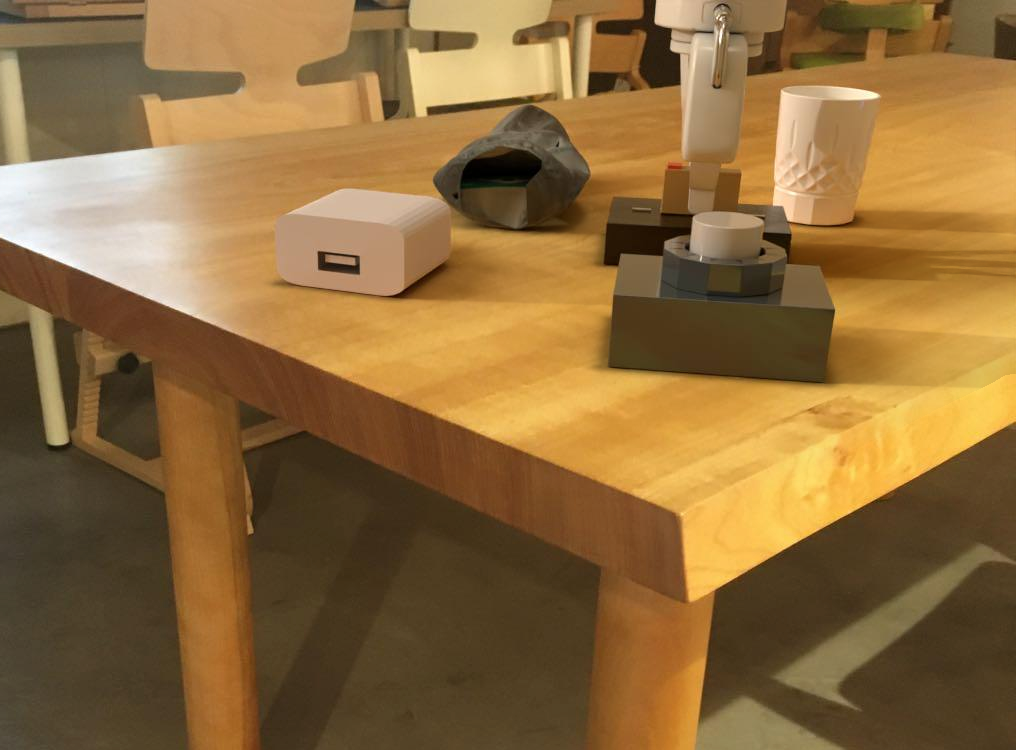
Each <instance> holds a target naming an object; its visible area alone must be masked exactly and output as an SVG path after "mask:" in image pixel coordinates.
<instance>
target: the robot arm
mask: <svg viewBox="0 0 1016 750" xmlns="http://www.w3.org/2000/svg"><path fill="white" fill-rule="evenodd" d="M787 4H788V0H655V11H654V12H655V13H654V25H656V26H659V27H661V28H668V29H671V34H670V35H671V39H670V45H669V49H670V51H671V52H673V53H675V54H679V55H680V57H679V58H680V100H681V101H680V103H681V157H682V159H683V160H684V161H685V162H688V163H689V167H690V189H689V199H688V210H689V212H691V213H692V214H700V213H705V212H712V211H713V208H714V199H715V190H716V186H717V182H718V177H719V173H720V169H721V168H722V165H725V164H726V165H730V164H733V163H734V162H735V161H736V159H737V157H738V153H739V148H740V143H741V133H742V132H741V131H742V123H743V115H744V114H743V113H744V105H745V96H746V86H747V85H746V84H747V76H748V63H749V58H753V57H754V58H755V57H758V56H761V55H762V53H763V46H764V43H763V42H764V39H765V33H772V32H773V33H774V32H779V31H782V30H783V29H784V26H785V18H786V13H787V12H786V10H787V6H788V5H787Z"/></svg>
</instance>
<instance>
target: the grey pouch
mask: <svg viewBox="0 0 1016 750" xmlns="http://www.w3.org/2000/svg"><path fill="white" fill-rule="evenodd" d="M591 175H592V174H591V169H590V167H589V163H588V161H587V160H586V158H585V157H584V156H582V154H581V153H580V152H579V151H578V149H577V148H576V147H575V145H574V144H573V143H572V142H571V139H570V136H569V133H568V132H567V130H566V128H565V127H564V125H563V124H562V122H561V121H559V119H558V118H557V117H556V116H554V114H551V113H550V112H548V111H547V110H545V109H543V108H541V107H539V106H537V105H535V104H531V103H530V104H523V105H520V106H518V107H516V108H515V109H513V110H511V111H510V112H509V113H507V114H506V115H505V116H504V117H503V118H502V119H501V120H500V121H499V122H498V123H497V124H495V126H494V127H493V128H492V129H491V131H489V133H488V134H486V135H484V136H481V137H478V138H477V139H475V140H473V141H472V142H469V143H468V144H467V145H466V146H464V147H463V148H462V149H461V150H460V151H459V152H458V153H457V154H456V155H455V156H454V157H452V158H451V159H450V160H449V161H447V163H446V164H444V165H443V166H442V167H440V168H439V169H438V170H437V171H436V172H435V173H434V175H433V177H432V183H433V185H434V188H435V189H436V190H437V191H438V193H439V195H440V196H441V197H442V198H443V199H444V200H445V202H446V203H447V204H448V205H449V206H450V207H452V208H453V209H454V210H455V211H456V212H458V213H459V214H460V215H461V216H463V217H465V218H467V219H469V220H471V221H473V222H475V223H477V224H480V225H481V226H485V227H489V228H499V229H500V228H501V229H511V230H521V229H525V228H528V227H531V226H536V225H541V224H542V223H545V222H547V221H549V220H552V219H553V218H555V217H557V216H559V215H560V214H562V213H563V212H565V211H566V210H567V209H569V208H570V206H572V205H573V204H574V203H575V201H576V200H577V198H578V196H579V195H580V194H581V192H582V191H583V189H584V188H585V185H586V184H587V183H588V181H589V180H590V178H591Z"/></svg>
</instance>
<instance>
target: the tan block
mask: <svg viewBox="0 0 1016 750" xmlns="http://www.w3.org/2000/svg"><path fill="white" fill-rule="evenodd" d="M663 171H664V172H663V182H662V193H661V199H662V202H661V213H665V214H683V215H697V214H692V213H691V212H689V210H688V199H689V189H690V165H686V166H685V165H683V163H682V162H674V161H673V162H670V161H668V162H667V164H665V165H664V170H663ZM741 182H742V169H741V168H725V167H723V168H722V167H721V169H720V173H719V177H718V182H717V186H716V190H715V199H714V208H713V211H712V212H735V213H737V207H738V204H739V198H740V190H741Z"/></svg>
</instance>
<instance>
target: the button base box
mask: <svg viewBox="0 0 1016 750" xmlns="http://www.w3.org/2000/svg"><path fill="white" fill-rule="evenodd" d="M690 237H691V235H684V236H679V237H676V238H673V239H670V240H667V241H665V242H664V249H663V256H650V255H634V254H621V255H620V260H619V265H617V272H616V278H615V283H614V287H613V293H612V305H611V316H610V317H611V318H610V319H611V320H610V328H609V329H610V332H609V343H608V356H607V367H608V368H621V369H623V368H624V369H634V370H647V371H663V372H676V373H689V374H702V375H714V376H715V375H717V376H729V377H744V378H758V379H772V380H785V381H798V382H810V383H811V382H812V383H824V382H825V377H826V372H827V371H826V370H827V364H828V358H829V352H830V346H831V339H832V335H833V327H834V321H835V315H836V307H835V305H834V303H833V302H834V301H833V299H832V297H831V293H830V291H829V288H828V286H827V283H826V279H825V277H824V274H823V272H822V269H821V266H820V265H811V264H810V265H807V264H795V263H794V264H793V263H792V264H791V263H788V264H786V262H787V255H786V252H785V249H784V248H782V247H779V246H777V245H775V244H773V243H770V242H768V241H766V240H762V243H761V251H760V257H758V258H751V259H740V260H735V259H719V258H711V257H706V256H702V255H697V254H694V253H692V252H690V251H689V246H690Z"/></svg>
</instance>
